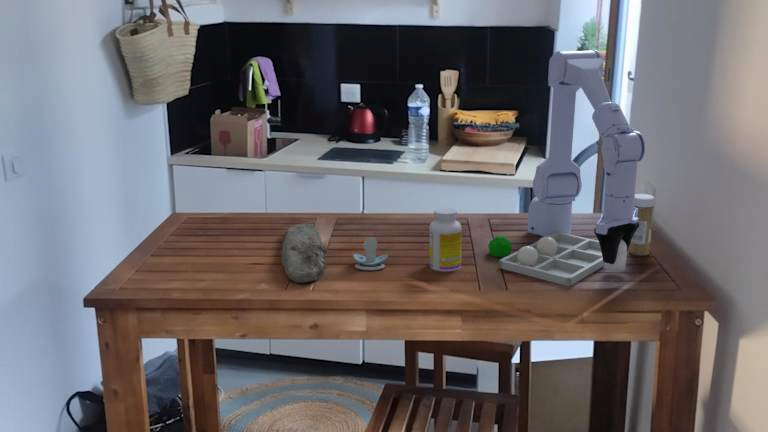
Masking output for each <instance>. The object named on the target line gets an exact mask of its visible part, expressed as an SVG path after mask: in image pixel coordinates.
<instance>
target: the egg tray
mask: <svg viewBox="0 0 768 432" xmlns="http://www.w3.org/2000/svg"><path fill="white" fill-rule="evenodd" d="M548 237H551V238H553V239H554V240H555V241H556V243H557V251H556V253H555V254H554V255H553V256H551V257H550V256H545V255H541V254H539V253H538V261H537V263H536V264H535V265H534V266H532V267H529V266H525V265H521V264H520V263H519V262H518V260H517V253H518V251H519V250H517V251H515V252H513V253H510V255H508V256H507V257H501V259H500V258H499V259H498V269H501V270H505V271H509V272H512V273H517V274H521V275H524V276H529V277H531V278H536V279H538V280H539V279H540V280H542V281H543V280H544V281H546V282H551V283H555V284H558V285H562V286H566V287H568V288H569V287H571V286H573V285H575V284H576V283H578V282H580V281H582V280H583V279H585V278H587V277H588V276H590V275H592V274H593V273H595V272H597V271H598V270H600V269H601V268H603V257H602V252H601V247H600V244H599V241H598V239H592V238H587V237H583V236H578V235H573V234H570V235H569V234H565V233H560V232H556V233H554V234H552V235H550V236H548ZM537 243H538V241H535V242H534V243H531V244H530V245H528V246H531V247H533V248H535V249H536V251H537ZM537 252H538V251H537Z"/></svg>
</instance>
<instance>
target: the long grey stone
mask: <svg viewBox="0 0 768 432" xmlns="http://www.w3.org/2000/svg"><path fill="white" fill-rule="evenodd" d="M281 245H282V248H281V252H280V258H281V259H280V262H281V265H282V267H283V269H284V272H285V275H286V276H287V277H288V278H289V280H291V281H293V282H295V283H298V284H300V283H308V282H313V281H317V280H318V279H319V277H320V276H323V275H324V273H325V269H326V267H327V263H326V257H327V255H326V253H327V252H328V248H327V246H326V245H324V244H323V243H322V237H321V235H320V231H318V230H317V229H316V225H314V224H312V223H309V222H308V223H307V222H306V223H304V222H302V223H299V224H298V223H297V224H294V225H292V226H291V227H289V228H287V230H286V231H285V233H284V239H283V241H282V242H281Z"/></svg>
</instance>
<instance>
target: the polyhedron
mask: <svg viewBox="0 0 768 432" xmlns="http://www.w3.org/2000/svg"><path fill="white" fill-rule="evenodd" d="M488 250H489V254H490V255H491V256H492V257H495V258H504V257H507V256H509V255H511V254H512V250H513V247H512V242H511V241H510V240H509V239H508V238H507V237H505V236H504V235H497V236H495V237H494V238H493V239H491V240H489V243H488Z"/></svg>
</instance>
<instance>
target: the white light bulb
mask: <svg viewBox="0 0 768 432" xmlns="http://www.w3.org/2000/svg"><path fill="white" fill-rule="evenodd" d="M627 254H628V251H627V245H626V243H625V242H624V241H623V240H622V239H621V241H620V244H619V247H618V252H617V257H616V261H615V263H614V264H609V263H605V262H603V267H602V268H603V269H605V270H607V271H611V272H621V271H624V270H626V266H627Z"/></svg>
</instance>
